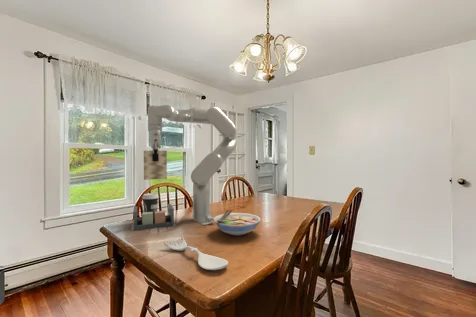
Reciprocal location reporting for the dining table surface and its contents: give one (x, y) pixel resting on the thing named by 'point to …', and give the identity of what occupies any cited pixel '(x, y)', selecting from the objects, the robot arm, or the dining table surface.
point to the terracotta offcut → (159, 217)
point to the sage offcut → (147, 218)
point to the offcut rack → (138, 221)
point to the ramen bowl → (236, 223)
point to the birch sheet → (155, 166)
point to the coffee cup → (150, 202)
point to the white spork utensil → (200, 256)
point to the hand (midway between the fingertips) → (155, 160)
